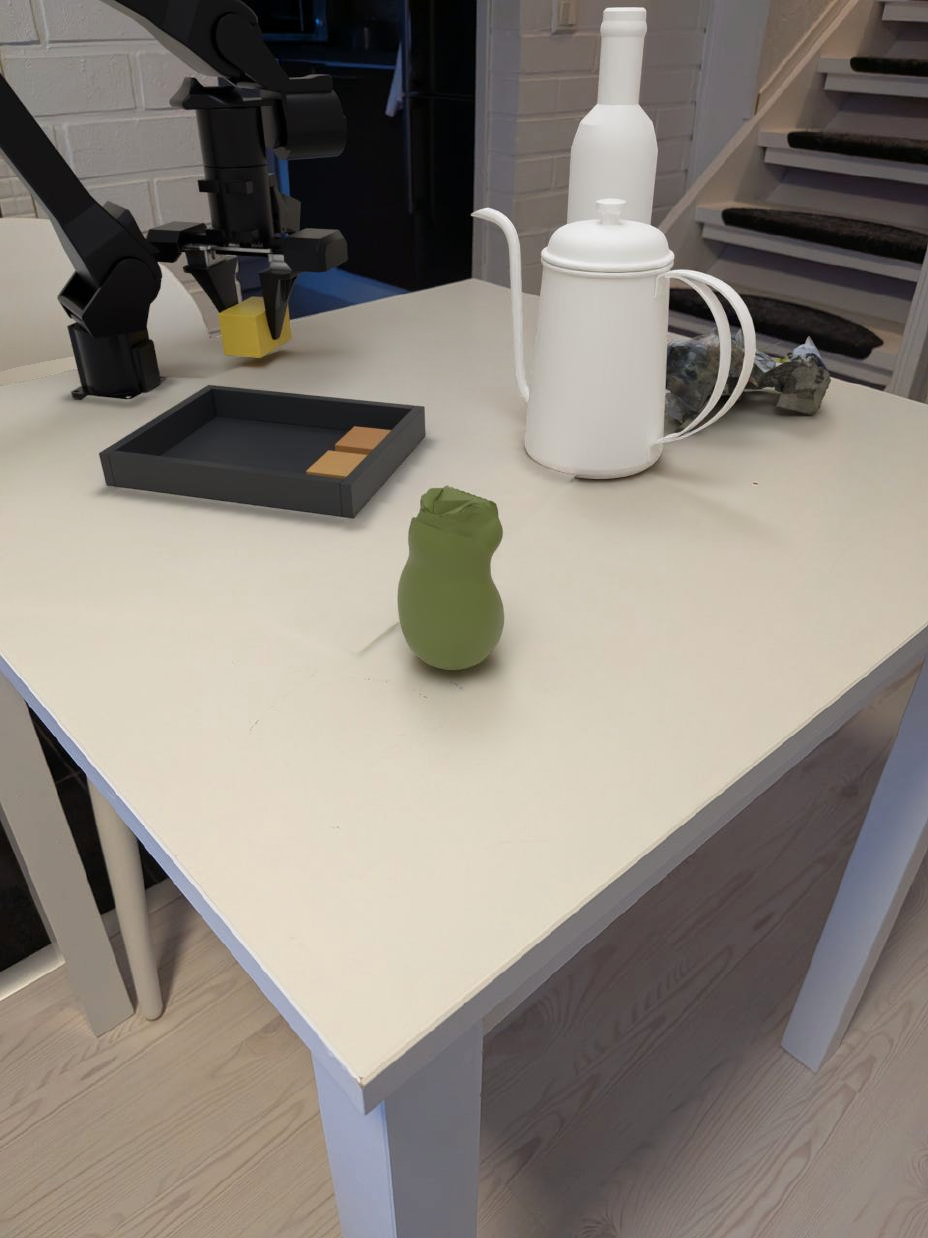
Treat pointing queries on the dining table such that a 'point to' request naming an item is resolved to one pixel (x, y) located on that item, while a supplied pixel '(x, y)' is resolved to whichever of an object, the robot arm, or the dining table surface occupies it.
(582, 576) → the dining table surface
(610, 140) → the bottle
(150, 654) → the dining table surface
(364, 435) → the block
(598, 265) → the coffeepot
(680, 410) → the foil
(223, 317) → the sponge
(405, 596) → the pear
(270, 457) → the pan
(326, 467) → the block
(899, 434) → the dining table surface
